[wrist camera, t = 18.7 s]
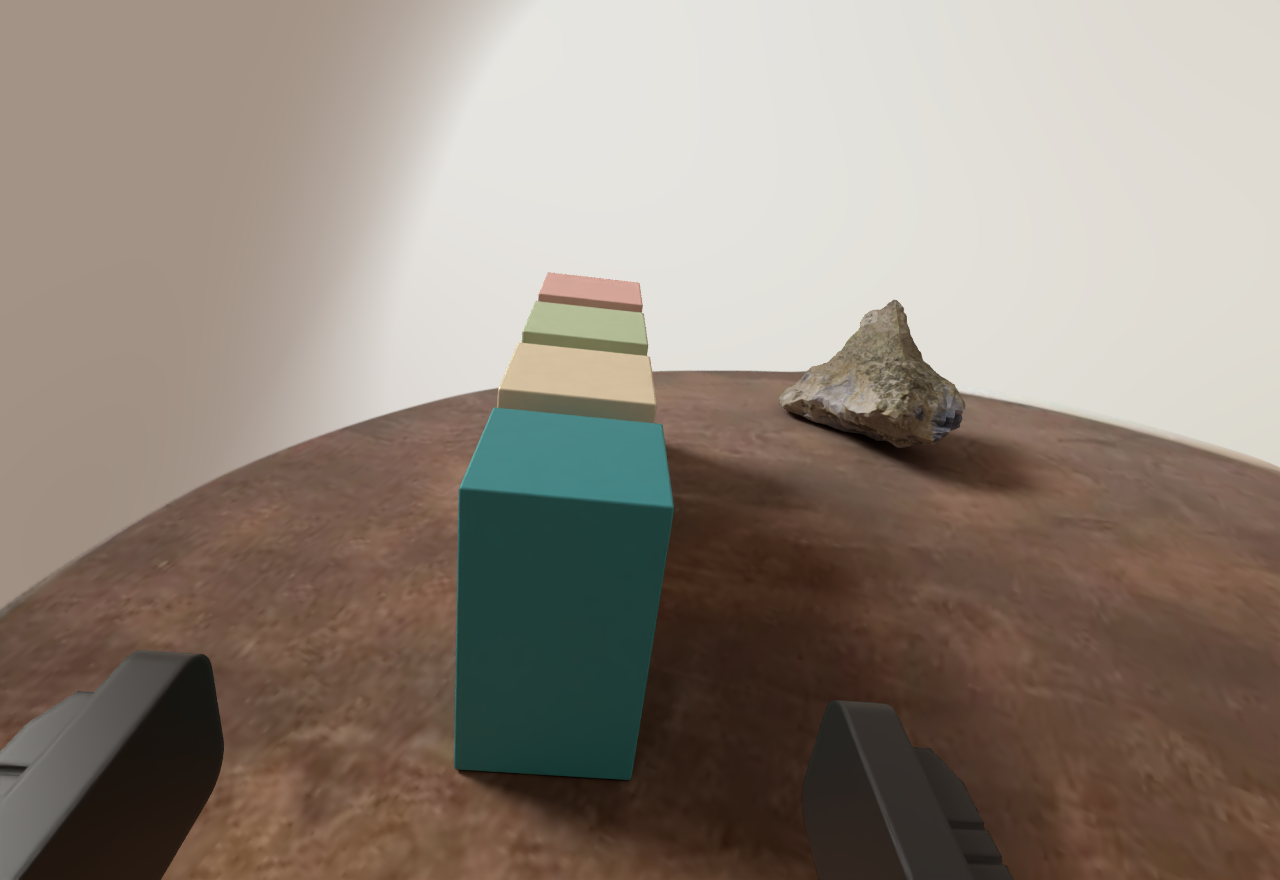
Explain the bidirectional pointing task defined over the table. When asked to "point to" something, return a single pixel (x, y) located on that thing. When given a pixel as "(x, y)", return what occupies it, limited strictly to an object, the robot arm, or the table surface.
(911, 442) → the rock
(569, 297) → the line block
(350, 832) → the table surface
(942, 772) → the robot arm
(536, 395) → the line block
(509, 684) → the teal block
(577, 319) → the line block
